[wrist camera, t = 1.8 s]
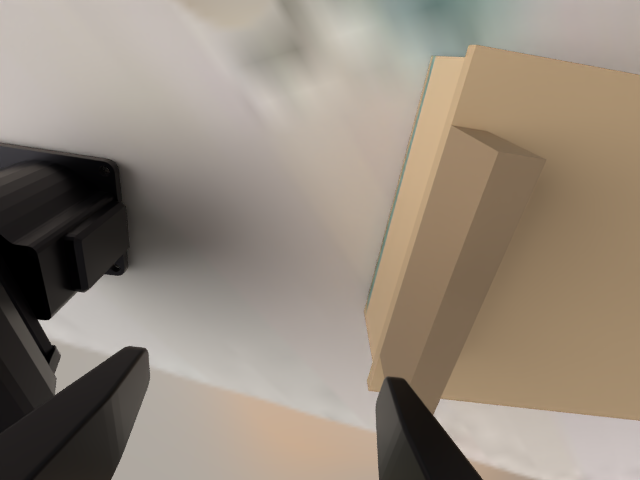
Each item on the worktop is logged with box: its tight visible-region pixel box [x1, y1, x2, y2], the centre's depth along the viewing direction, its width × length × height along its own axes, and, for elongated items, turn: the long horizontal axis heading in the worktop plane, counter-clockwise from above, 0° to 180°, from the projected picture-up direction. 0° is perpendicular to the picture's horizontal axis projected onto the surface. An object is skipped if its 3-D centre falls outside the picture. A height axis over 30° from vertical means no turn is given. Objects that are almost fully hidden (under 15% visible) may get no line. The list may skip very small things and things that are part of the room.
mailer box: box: [364, 56, 465, 361], centre depth 17 cm, size 14×14×5 cm
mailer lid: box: [367, 45, 640, 421], centre depth 13 cm, size 15×15×4 cm
